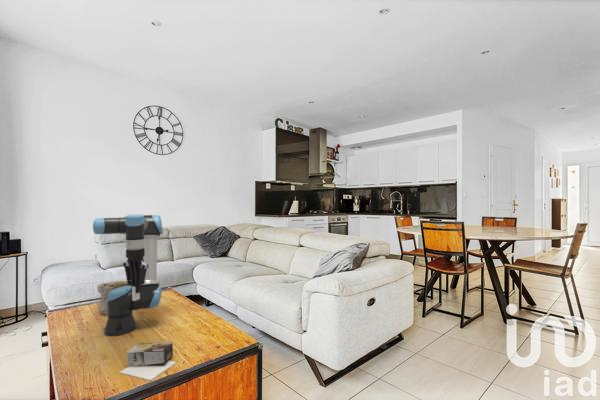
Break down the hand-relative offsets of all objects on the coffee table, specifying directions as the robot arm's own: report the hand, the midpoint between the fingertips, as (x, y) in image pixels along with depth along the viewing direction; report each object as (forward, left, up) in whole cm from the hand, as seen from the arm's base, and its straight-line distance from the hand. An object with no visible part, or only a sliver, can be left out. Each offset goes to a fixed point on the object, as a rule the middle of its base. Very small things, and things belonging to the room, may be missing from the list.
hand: (136, 299), depth 138 cm
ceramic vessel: (-62, +41, -27) cm, 79 cm away
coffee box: (+2, -4, -23) cm, 23 cm away
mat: (+12, -5, -27) cm, 30 cm away
